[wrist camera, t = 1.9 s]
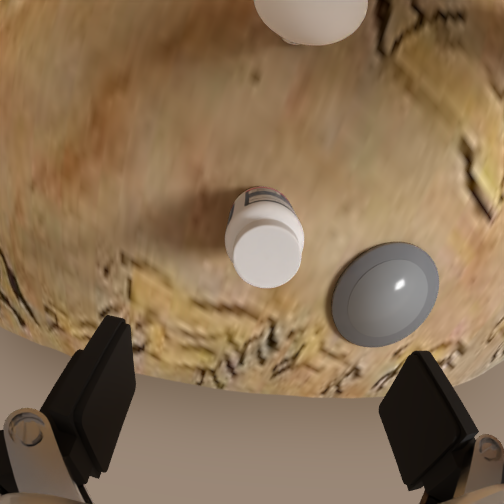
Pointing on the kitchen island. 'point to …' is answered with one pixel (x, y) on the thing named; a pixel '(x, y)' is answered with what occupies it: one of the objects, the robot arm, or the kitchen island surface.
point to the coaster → (385, 294)
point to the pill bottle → (264, 237)
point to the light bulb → (312, 19)
